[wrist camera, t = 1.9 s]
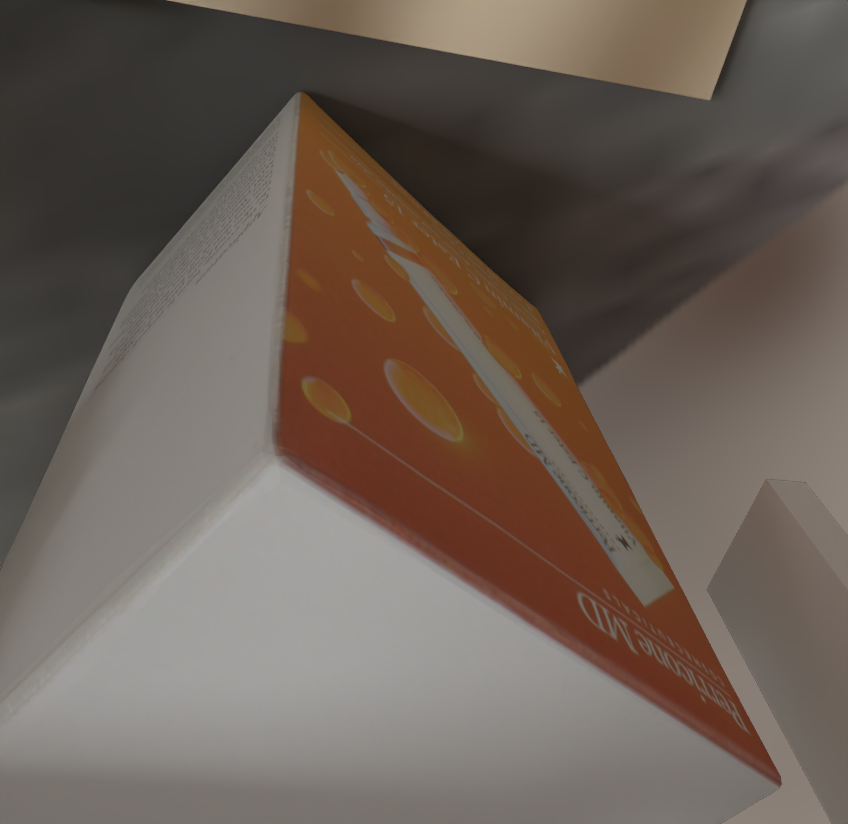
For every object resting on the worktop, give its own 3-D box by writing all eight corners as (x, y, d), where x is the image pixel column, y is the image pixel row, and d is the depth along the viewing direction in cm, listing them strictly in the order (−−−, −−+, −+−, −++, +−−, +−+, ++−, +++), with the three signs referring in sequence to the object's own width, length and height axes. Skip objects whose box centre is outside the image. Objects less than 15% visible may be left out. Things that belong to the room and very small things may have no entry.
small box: (542, 307, 20) (805, 796, 9) (374, 457, 22) (432, 996, 11) (297, 74, 16) (268, 453, 6) (123, 282, 18) (-140, 846, 8)
